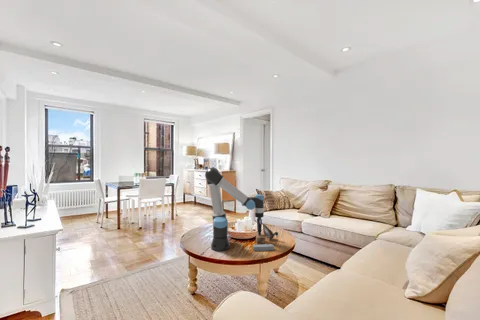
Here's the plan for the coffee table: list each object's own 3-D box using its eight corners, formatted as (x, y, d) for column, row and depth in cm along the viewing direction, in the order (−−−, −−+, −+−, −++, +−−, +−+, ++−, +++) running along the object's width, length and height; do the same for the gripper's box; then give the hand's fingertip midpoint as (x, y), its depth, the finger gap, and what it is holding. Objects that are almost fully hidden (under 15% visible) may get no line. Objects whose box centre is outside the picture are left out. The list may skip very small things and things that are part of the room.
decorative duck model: (281, 236, 207) (275, 219, 211) (277, 238, 201) (270, 221, 205) (268, 240, 215) (262, 224, 219) (263, 242, 209) (257, 226, 213)
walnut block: (257, 244, 197) (257, 237, 197) (255, 242, 204) (255, 235, 204) (265, 244, 197) (265, 237, 197) (263, 241, 204) (263, 234, 204)
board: (253, 250, 183) (253, 247, 183) (252, 248, 188) (252, 244, 188) (273, 250, 184) (273, 246, 184) (272, 247, 189) (272, 244, 189)
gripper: (264, 213, 201) (264, 241, 201) (262, 210, 214) (262, 236, 214) (256, 214, 200) (256, 241, 200) (254, 210, 213) (254, 236, 213)
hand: (259, 239), depth 207 cm, fingers closed
